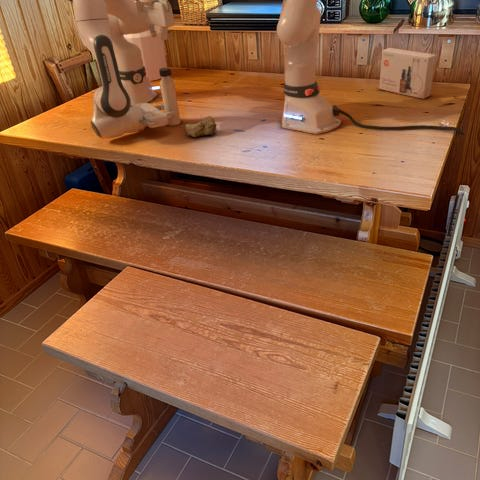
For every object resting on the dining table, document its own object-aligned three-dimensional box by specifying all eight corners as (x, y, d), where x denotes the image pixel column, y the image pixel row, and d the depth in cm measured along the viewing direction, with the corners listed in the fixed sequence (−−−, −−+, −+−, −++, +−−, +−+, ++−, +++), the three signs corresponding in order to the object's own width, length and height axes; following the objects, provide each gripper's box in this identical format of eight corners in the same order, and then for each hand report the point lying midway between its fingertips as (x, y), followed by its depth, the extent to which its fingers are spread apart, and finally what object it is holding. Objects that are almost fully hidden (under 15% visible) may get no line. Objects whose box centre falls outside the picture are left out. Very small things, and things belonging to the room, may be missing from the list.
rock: (185, 134, 174) (189, 139, 165) (182, 117, 171) (186, 121, 162) (213, 129, 176) (218, 134, 167) (210, 112, 173) (216, 117, 164)
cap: (161, 74, 173) (159, 68, 172) (172, 73, 173) (171, 67, 172) (159, 77, 170) (158, 71, 169) (170, 76, 170) (169, 70, 169)
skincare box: (377, 89, 194) (381, 50, 185) (385, 86, 197) (389, 47, 188) (423, 99, 180) (429, 56, 171) (430, 95, 183) (437, 53, 174)
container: (160, 81, 233) (149, 21, 217) (121, 82, 238) (108, 23, 222) (174, 69, 249) (165, 13, 233) (138, 70, 254) (126, 15, 238)
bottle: (168, 121, 185) (158, 68, 173) (181, 120, 184) (172, 67, 173) (166, 126, 180) (156, 72, 169) (179, 125, 180) (171, 71, 168)
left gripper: (144, 117, 164) (179, 108, 169) (124, 104, 179) (157, 95, 184) (148, 134, 168) (182, 124, 173) (128, 119, 182) (160, 111, 188)
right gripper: (175, -5, 151) (181, 40, 159) (147, -8, 165) (154, 33, 173) (158, -2, 148) (165, 43, 156) (131, -6, 162) (139, 36, 170)
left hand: (169, 109), depth 179 cm, fingers open, 8 cm apart
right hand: (159, 38), depth 164 cm, fingers open, 6 cm apart
